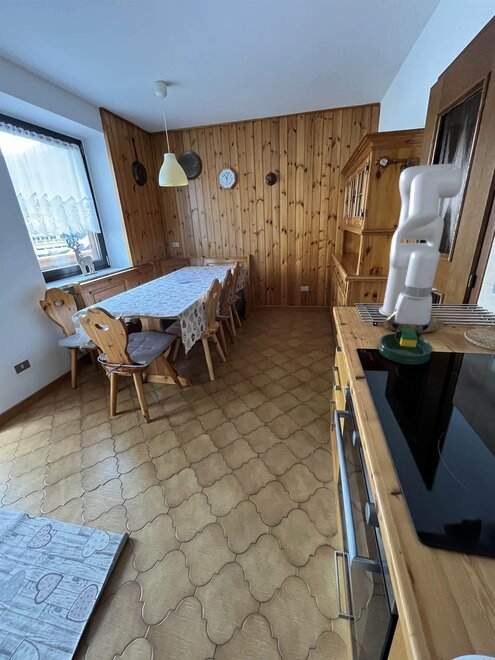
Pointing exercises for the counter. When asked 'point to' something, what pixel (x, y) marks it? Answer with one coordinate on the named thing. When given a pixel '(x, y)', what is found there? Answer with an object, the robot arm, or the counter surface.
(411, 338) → the small sponge
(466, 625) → the counter surface
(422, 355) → the bowl
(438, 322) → the sponge
